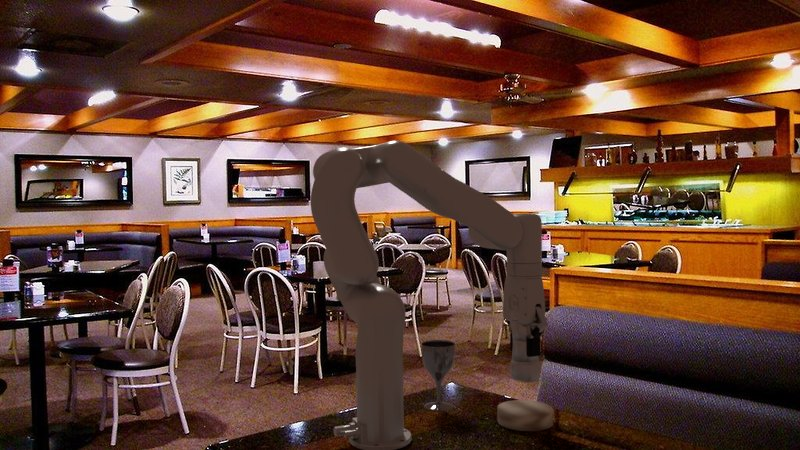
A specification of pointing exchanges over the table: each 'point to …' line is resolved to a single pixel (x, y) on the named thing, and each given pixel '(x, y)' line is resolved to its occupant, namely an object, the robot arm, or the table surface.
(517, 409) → the pedestal
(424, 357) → the wine glass
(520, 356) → the plastic bottle
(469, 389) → the table surface
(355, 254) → the robot arm
